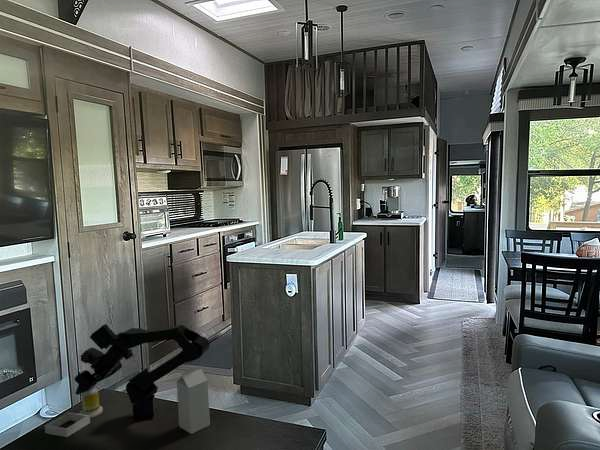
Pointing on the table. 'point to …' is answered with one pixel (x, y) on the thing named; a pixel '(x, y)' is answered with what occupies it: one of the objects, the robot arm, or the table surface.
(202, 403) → the milk carton
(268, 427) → the table surface
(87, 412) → the supplement bottle
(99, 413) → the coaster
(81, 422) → the bin
